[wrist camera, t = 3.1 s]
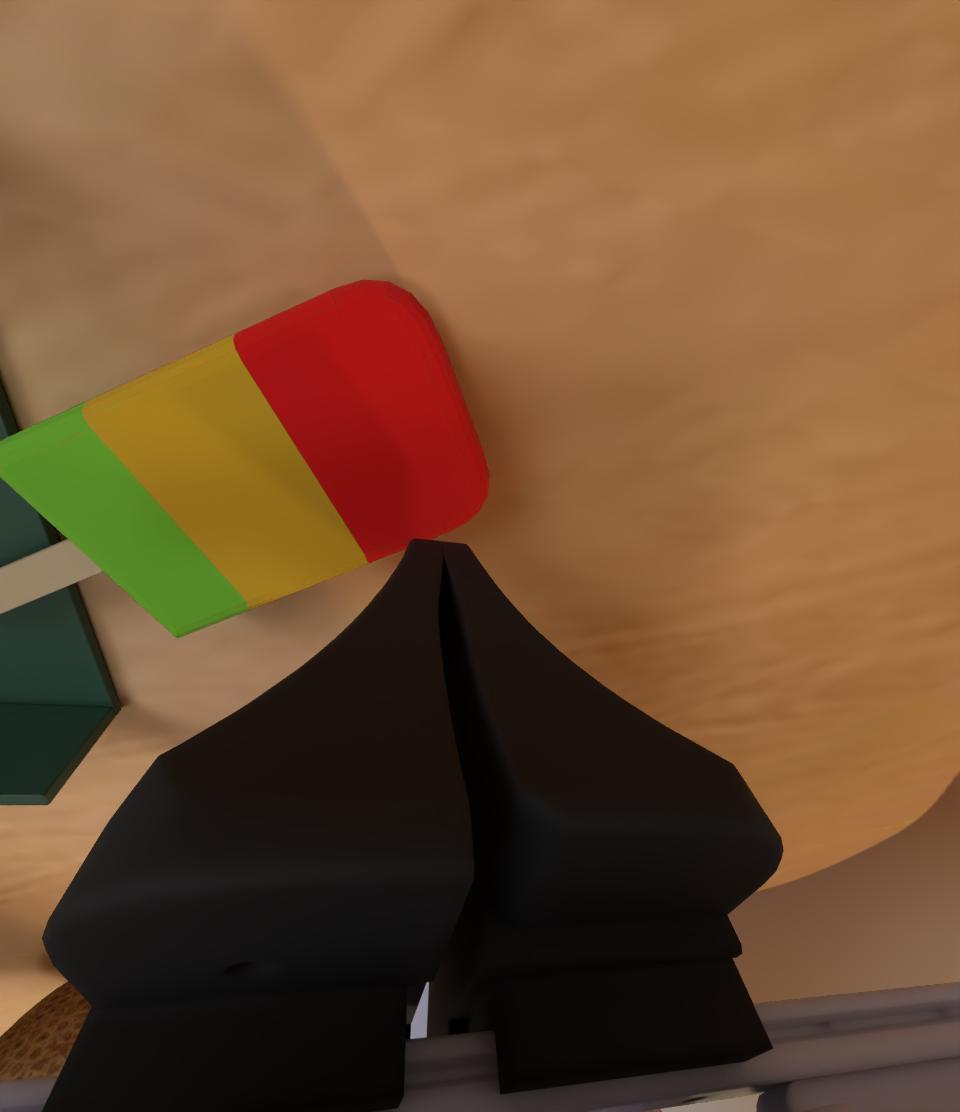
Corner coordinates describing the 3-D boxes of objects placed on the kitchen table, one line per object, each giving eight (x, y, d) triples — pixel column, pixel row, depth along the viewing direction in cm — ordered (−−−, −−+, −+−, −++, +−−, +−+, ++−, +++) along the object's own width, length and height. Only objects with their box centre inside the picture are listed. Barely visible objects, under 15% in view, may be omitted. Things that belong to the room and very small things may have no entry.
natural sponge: (172, 931, 24) (32, 1274, 16) (216, 980, 29) (128, 1265, 20) (-5, 950, 23) (-256, 1327, 15) (71, 997, 28) (-86, 1305, 19)
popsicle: (496, 486, 12) (509, 517, 10) (43, 666, 13) (-11, 718, 11) (410, 258, 9) (408, 249, 7) (-164, 520, 10) (-276, 562, 8)
